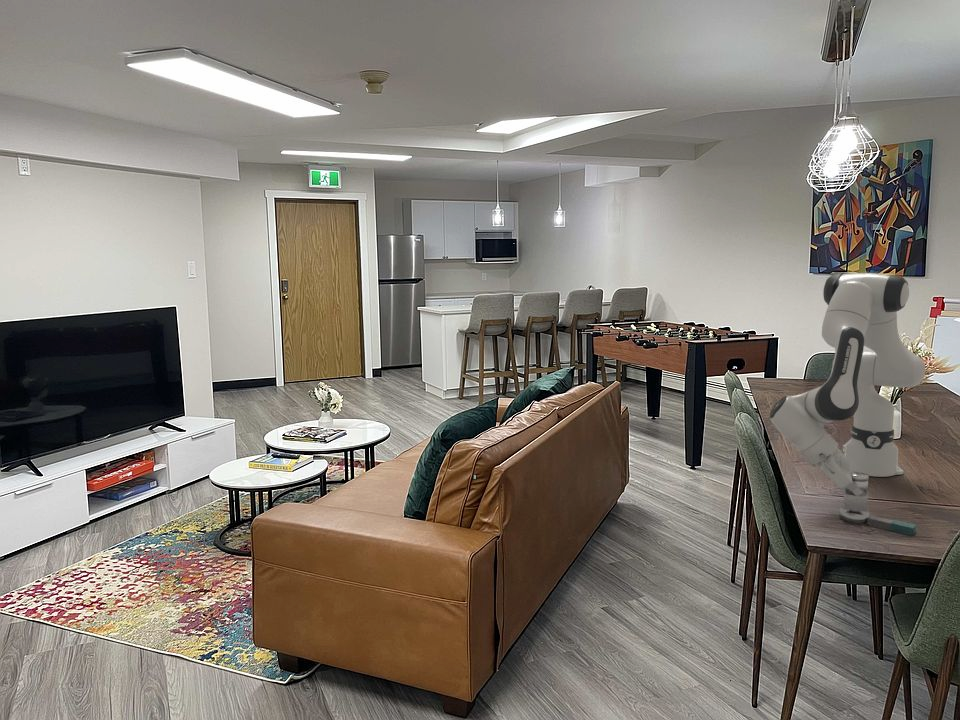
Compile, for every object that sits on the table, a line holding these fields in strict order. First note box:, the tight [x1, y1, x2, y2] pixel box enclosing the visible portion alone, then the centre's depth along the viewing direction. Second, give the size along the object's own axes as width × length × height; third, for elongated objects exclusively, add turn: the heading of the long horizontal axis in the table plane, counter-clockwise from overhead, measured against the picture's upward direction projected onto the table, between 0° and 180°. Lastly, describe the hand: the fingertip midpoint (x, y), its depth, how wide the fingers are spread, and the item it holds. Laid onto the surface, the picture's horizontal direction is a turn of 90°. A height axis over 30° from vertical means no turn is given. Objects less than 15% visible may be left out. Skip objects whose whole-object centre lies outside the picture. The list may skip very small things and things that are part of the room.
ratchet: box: [838, 505, 917, 537], centre depth 185 cm, size 18×7×6 cm, turn 46°
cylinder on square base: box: [843, 471, 870, 512], centre depth 187 cm, size 5×5×9 cm
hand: (859, 489), depth 187 cm, fingers closed on cylinder on square base, 5 cm apart
